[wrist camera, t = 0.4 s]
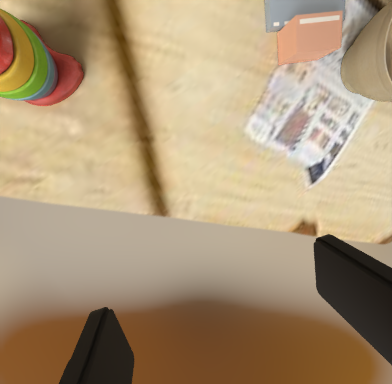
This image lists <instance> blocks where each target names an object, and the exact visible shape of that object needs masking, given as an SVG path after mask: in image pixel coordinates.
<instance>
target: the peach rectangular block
mask: <svg viewBox="0 0 392 384" xmlns="http://www.w3.org/2000/svg"><path fill="white" fill-rule="evenodd" d="M342 14H343V10H342V11H333V12H323V13H313V14H303V15H296V16H295V17H294V18H293V19H291V20H290V21H289V22H288V23H287V24H286V25H285V26H284V27H283V28H282V29H281V30H280V31H279V32H278V33H277V40H278V65H282V64H290V63H297V62H305V61H312V60H318V59H320V58H322V57H324V56H326V55H328V54H330V53H331V52H333V51H335V50H337V49H339V48H341V39H342Z"/></svg>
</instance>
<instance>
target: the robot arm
mask: <svg viewBox="0 0 392 384" xmlns="http://www.w3.org/2000/svg"><path fill="white" fill-rule="evenodd" d="M314 259H315V272H316V287H317V290H318V293H319V294H320V295H321V296H322V298H324V299H325V300H326V301H327V302H328V303H329V304H330V305H331V306H332V307H333V308H334V309H335V310H336V311H337V312H338V313H339V314H340V315H341V316H342V317H343V318H344V319H345V320H346V321H347V322H348V323H349V324H350V325H351V326H352V327H353V328H354V329H355V330H356V331H357V332H358V333H359V334H360V335H361V336H362V337H363V338H364V339H366V340H367V341H368V342H369V343H370V344H371V345H372V346H373V347H374V348H375V349H376V350H377V351H378V352H379V353H380V354H381V355H382V356H383V357H384V358H385V359H386V360H387V361H388V362H389V363H390V364H391V365H392V268H391V267H389V266H387V265H385V264H383V263H381V262H380V261H378V260H376V259H374V258H373V257H371V256H369V255H367V254H365V253H364V252H362V251H360V250H358V249H356V248H354V247H353V246H351V245H349V244H347V243H345V242H344V241H342V240H340V239H338V238H336V237H335V236H333V235H330V234H328V235H325V236H322V237H319V238H316V242H315V243H314ZM133 368H134V355H133V352H132V350H131V347H130V346H129V343H128V341H127V339H126V337H125V335H124V333H123V331H122V328H121V326H120V324H119V322H118V320H117V318H116V316H115V314H114V311H113V310H112V309H110V310H109V309H108V308H107V307H104V308H102V309H98V310H95V311H92V312H91V313H90V315H89V317H88V319H87V321H86V324H85V326H84V329H83V331H82V333H81V336H80V338H79V340H78V343H77V345H76V348H75V350H74V353H73V355H72V357H71V359H70V360H69V362H68V364H67V366H66V368H65V370H64V373H63V375H62V377H61V380H60V382H59V384H132V376H133Z"/></svg>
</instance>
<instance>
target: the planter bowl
mask: <svg viewBox="0 0 392 384" xmlns="http://www.w3.org/2000/svg"><path fill="white" fill-rule="evenodd" d="M341 78H342V81H343V84H344V85H345V87H346V88H347V89H348V90H349V91H351V92H353V93H358V94H360V95H362V96H364V97H367V98H369V99H373V100H377V101H384V102H392V1H391V2H389V3H388V4H387V5H386V6H385V7H383V8H382V9H381V10H380V11H379V12H378V13H377V14H376V15H375V16H374V17H373V18H372V19H371V20H370V21H369V23H368V24H367V25H366V26H365V27H364V29H363V30H362V31H361V33H360V34H359V35H358V37H357V39H356V40H355V42H354V44H353V45H352V46H351V47H350V48H349V49H348V50H347V52H346V54H345V55H344V58H343V61H342V65H341Z"/></svg>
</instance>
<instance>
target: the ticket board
mask: <svg viewBox="0 0 392 384" xmlns="http://www.w3.org/2000/svg"><path fill="white" fill-rule="evenodd" d="M342 10H343V14H342V21H343V20H344V19H345V0H265V17H266V32H275V31H280V30H281V29H282V28H283V27H284V26H285V25H286V24H287V23H288V22H289V21H290V20H291V19H293V18H294V17H295V16H296V15H303V14H313V13H323V12H333V11H342Z"/></svg>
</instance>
